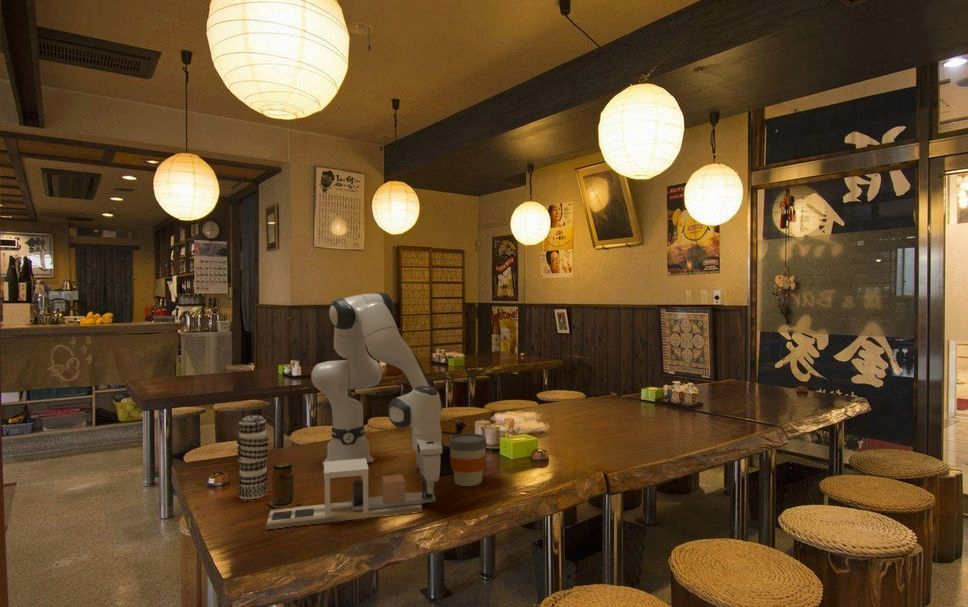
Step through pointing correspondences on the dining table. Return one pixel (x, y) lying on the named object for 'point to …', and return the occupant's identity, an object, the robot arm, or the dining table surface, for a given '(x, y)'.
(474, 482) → the reusable coffee cup
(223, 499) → the dining table surface
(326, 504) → the tunnel
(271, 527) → the track
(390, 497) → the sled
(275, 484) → the condiment
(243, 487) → the round tower model
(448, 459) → the black coffee grinder
